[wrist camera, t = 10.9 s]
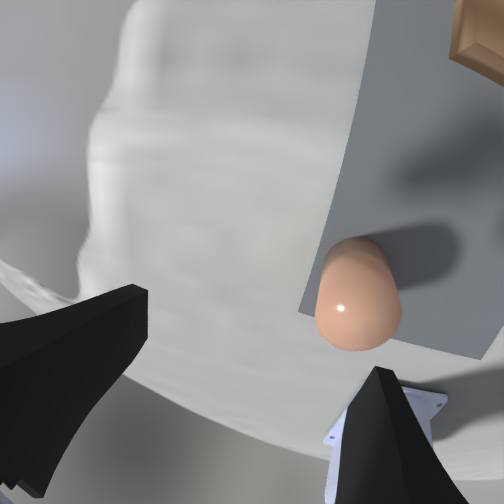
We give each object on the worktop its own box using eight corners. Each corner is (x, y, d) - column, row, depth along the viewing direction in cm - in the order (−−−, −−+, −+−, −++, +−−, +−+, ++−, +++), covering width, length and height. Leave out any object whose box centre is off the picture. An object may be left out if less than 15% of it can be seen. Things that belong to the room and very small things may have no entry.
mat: (479, 356, 17) (480, 359, 17) (298, 308, 20) (297, 311, 19) (573, 79, 8) (576, 79, 8) (379, -26, 10) (380, -29, 10)
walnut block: (505, 88, 11) (541, 83, 7) (448, 58, 11) (476, 42, 8) (509, 34, 9) (541, 19, 5) (453, 4, 9) (477, -22, 6)
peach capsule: (374, 306, 18) (380, 359, 13) (314, 288, 19) (304, 338, 14) (398, 248, 16) (416, 291, 12) (333, 228, 17) (330, 265, 12)
